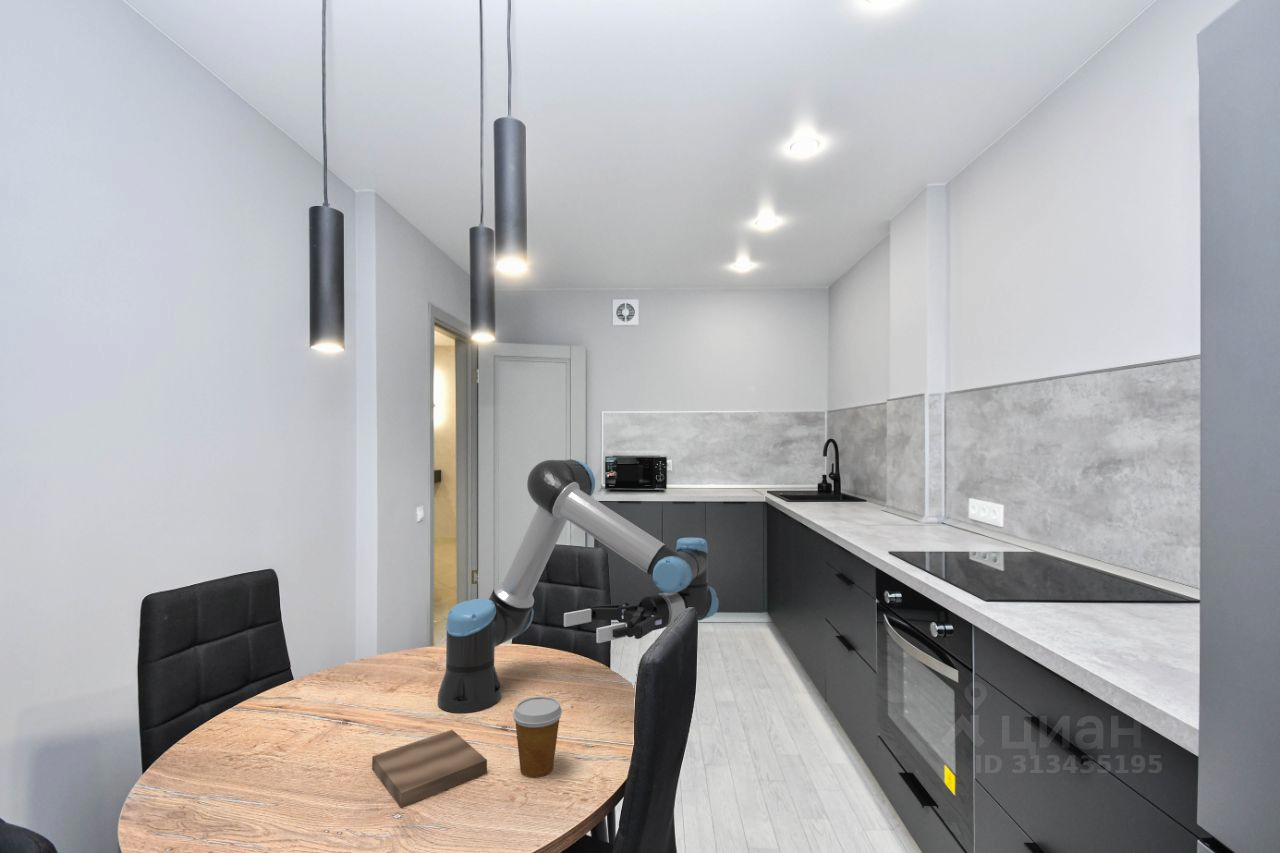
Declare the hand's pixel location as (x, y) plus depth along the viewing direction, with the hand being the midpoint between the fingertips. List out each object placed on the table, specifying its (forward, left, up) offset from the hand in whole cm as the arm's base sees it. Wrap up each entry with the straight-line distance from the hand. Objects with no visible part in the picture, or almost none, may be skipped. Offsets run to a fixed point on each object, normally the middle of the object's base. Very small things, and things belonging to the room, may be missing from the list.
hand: (580, 627), depth 116 cm
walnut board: (-14, -25, -25) cm, 38 cm away
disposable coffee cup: (-1, -9, -26) cm, 27 cm away
